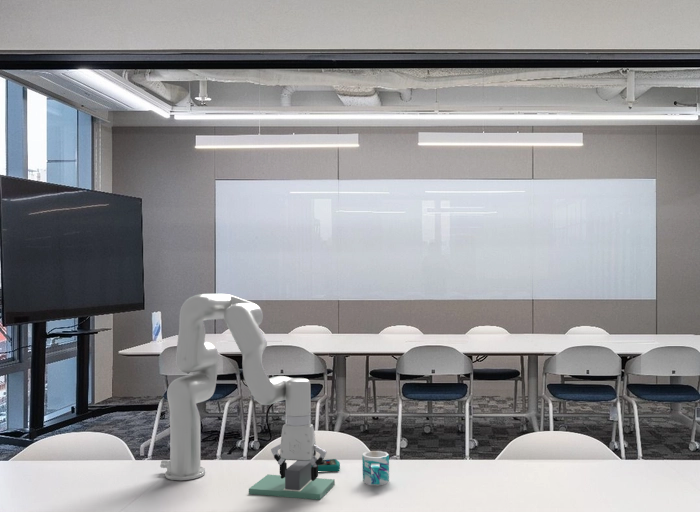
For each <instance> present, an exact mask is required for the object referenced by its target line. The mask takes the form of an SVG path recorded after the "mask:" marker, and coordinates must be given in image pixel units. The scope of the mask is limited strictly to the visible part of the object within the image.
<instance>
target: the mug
mask: <svg viewBox="0 0 700 512" xmlns="http://www.w3.org/2000/svg"><path fill="white" fill-rule="evenodd" d="M361 455H362V456H361V458H362V459H361V460H362V482H363V483H364V484H366V485H369V486H383V485H387V484H388V483H390V454H389V453H388V452H387V451H381V450H371V451H369V450H368V451H364V452H363V453H362V454H361Z"/></svg>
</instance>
